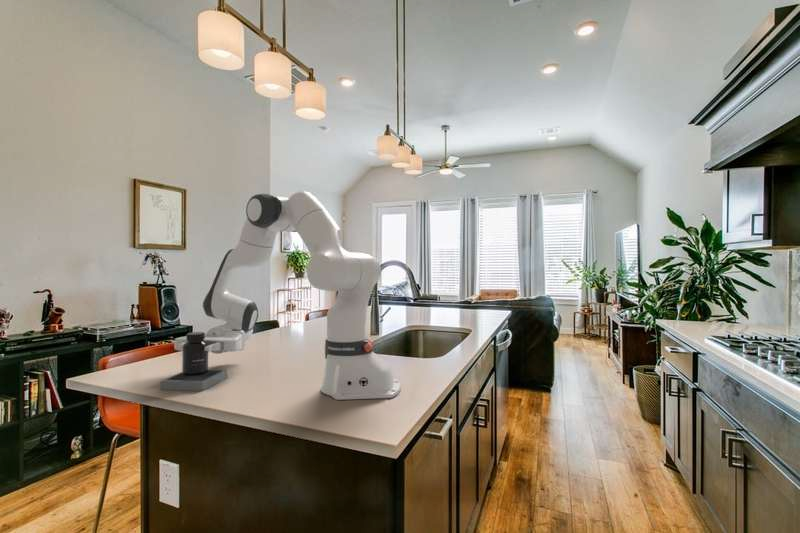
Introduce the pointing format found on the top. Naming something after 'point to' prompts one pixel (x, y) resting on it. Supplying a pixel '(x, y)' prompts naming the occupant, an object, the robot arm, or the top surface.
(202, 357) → the supplement bottle
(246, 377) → the top surface
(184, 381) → the tray
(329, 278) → the robot arm
